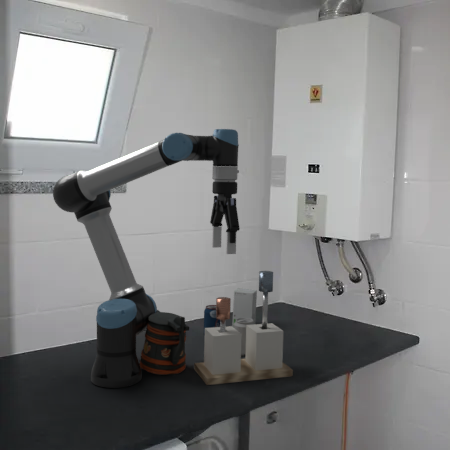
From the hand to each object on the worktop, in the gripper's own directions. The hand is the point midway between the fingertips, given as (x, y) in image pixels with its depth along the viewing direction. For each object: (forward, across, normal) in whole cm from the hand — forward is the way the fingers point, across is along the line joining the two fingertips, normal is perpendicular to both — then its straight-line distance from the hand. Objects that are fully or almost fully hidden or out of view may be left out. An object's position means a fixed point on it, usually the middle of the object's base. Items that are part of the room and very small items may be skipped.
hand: (223, 250), depth 180 cm
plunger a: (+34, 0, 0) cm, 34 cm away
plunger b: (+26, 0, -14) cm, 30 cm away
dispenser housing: (+37, 0, -7) cm, 38 cm away
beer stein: (+39, +8, +16) cm, 43 cm away
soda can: (+39, +38, -9) cm, 55 cm away
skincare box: (+39, +47, -25) cm, 66 cm away
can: (+39, +18, -14) cm, 45 cm away
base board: (+39, 0, -7) cm, 40 cm away
